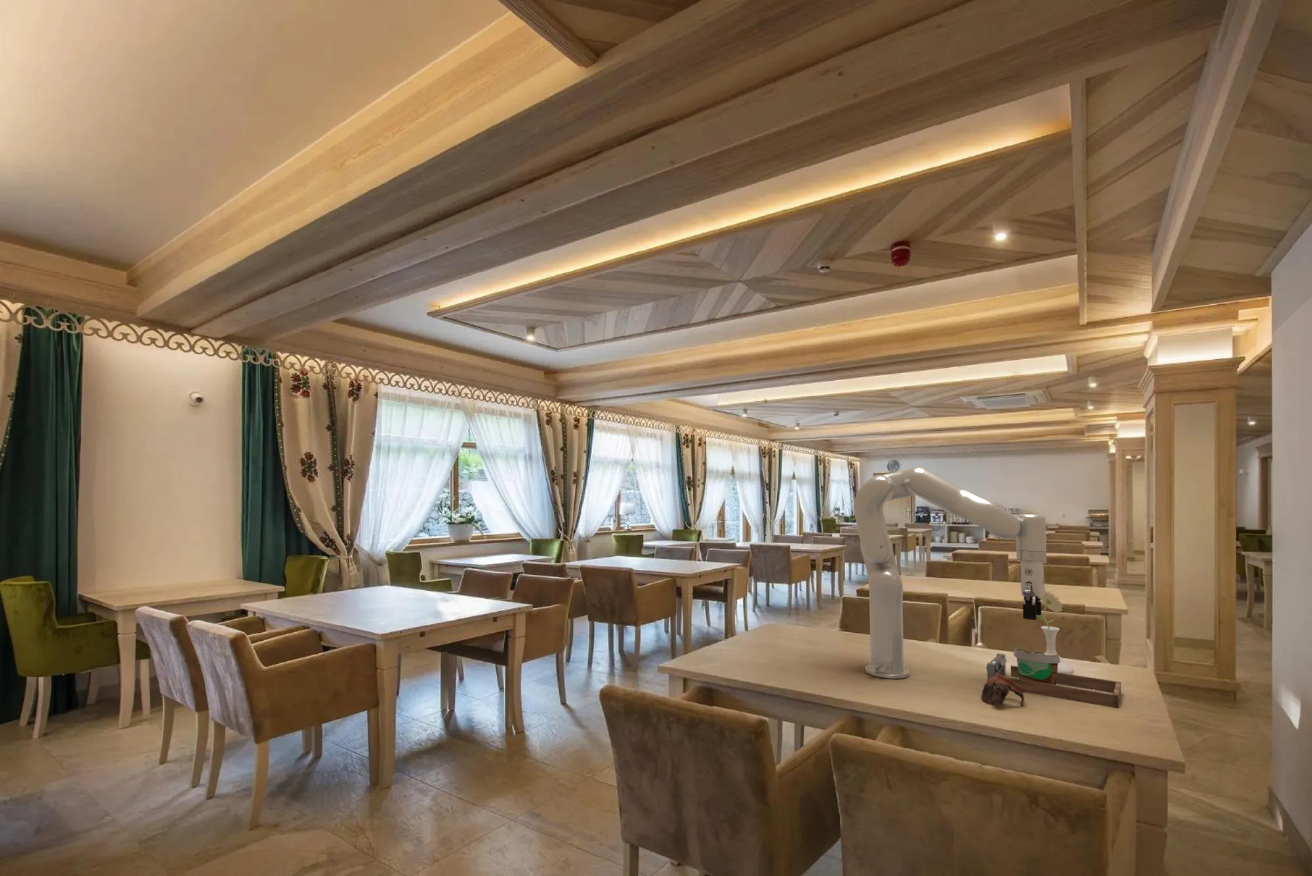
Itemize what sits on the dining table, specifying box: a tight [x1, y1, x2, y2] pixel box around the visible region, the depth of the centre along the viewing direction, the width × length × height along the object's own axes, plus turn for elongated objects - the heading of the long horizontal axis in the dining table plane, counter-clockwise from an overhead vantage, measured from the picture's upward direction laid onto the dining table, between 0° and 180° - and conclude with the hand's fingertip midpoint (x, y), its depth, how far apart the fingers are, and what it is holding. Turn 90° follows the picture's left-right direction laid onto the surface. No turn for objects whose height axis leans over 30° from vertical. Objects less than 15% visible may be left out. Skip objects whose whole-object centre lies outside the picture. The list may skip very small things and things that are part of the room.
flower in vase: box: [1037, 589, 1075, 675], centre depth 201 cm, size 13×11×25 cm
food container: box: [1013, 645, 1061, 685], centre depth 185 cm, size 12×6×10 cm, turn 31°
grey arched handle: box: [985, 653, 1007, 686], centre depth 193 cm, size 18×3×6 cm, turn 142°
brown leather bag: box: [980, 673, 1025, 706], centre depth 170 cm, size 12×9×8 cm
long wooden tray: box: [1005, 665, 1122, 709], centre depth 182 cm, size 16×27×3 cm, turn 52°
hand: (1032, 616), depth 187 cm, fingers open, 9 cm apart
